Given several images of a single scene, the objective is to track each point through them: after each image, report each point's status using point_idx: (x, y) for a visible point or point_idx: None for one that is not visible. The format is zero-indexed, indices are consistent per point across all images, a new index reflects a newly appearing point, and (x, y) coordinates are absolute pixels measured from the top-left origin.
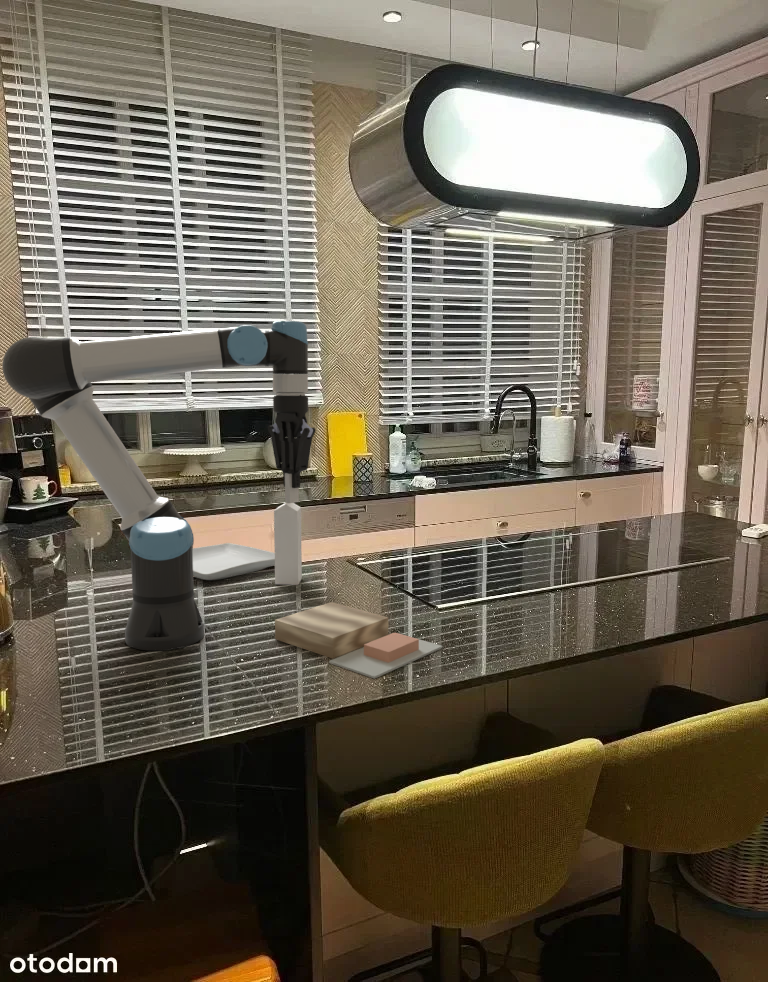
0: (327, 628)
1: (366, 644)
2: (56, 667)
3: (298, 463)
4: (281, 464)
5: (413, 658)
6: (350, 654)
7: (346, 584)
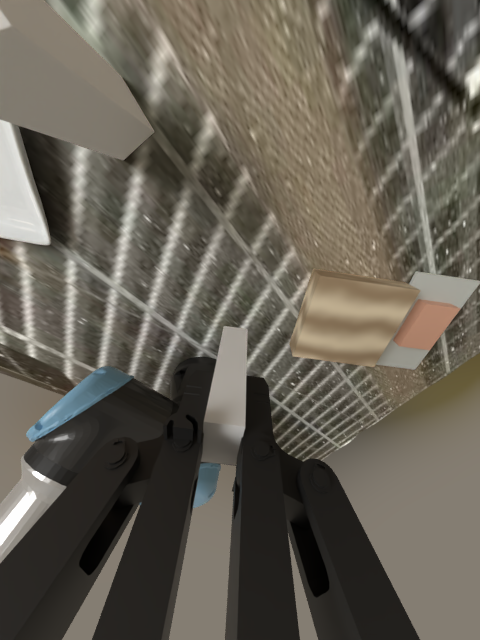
0: (358, 351)
1: (402, 345)
2: None
3: (317, 558)
4: (136, 502)
5: None
6: None
7: (227, 48)
